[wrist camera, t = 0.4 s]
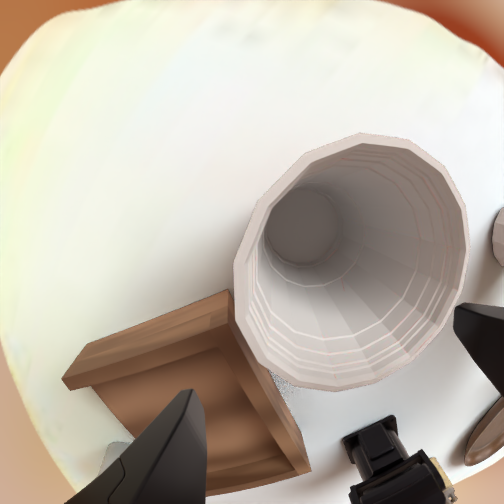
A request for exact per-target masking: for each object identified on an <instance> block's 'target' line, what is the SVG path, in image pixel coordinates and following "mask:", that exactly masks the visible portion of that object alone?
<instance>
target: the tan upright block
mask: <svg viewBox="0 0 504 504" xmlns="http://www.w3.org/2000/svg"><path fill="white" fill-rule="evenodd" d="M430 460H431V462H432V463H433V464H434V466H435V467H436V468H437V470H438V471H439V473H440V475H441V476H442V478H443V481H444V483H445V486H446V490H444V491H443V493H444V495H445V497H446V504H453V503H454V502H455V501H457V499H458V498H457V497H456V496H455V495H454V491H455V490H454V488H453V487H452V486H453V485H452V483H451V482H450V480H449V479H448V477H447V476H446V474H445V472H444V471H443V469H442V468H441V466H440V465H439V463H438V462H437V460H436V458H435V457H433V458H430ZM449 497H451V498H452V500H449V499H448V498H449Z"/></svg>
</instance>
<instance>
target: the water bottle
mask: <svg viewBox="0 0 504 504" xmlns="http://www.w3.org/2000/svg"><path fill="white" fill-rule="evenodd" d="M492 243H493V253H494V256H495V257H496V259H497V260H498V262H499V263H500V265H501V266H503V267H504V207H503V208H502V209H501V210H500V212H499V214H498V216H497V218H496V220H495V222H494V229H493V235H492Z"/></svg>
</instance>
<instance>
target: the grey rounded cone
mask: <svg viewBox="0 0 504 504" xmlns="http://www.w3.org/2000/svg"><path fill="white" fill-rule="evenodd" d="M129 445H130V444H128V443H124V442H113V443H111V444H109V446H108V448H107V451H106V454H105V457H104V459H103V462H102V465H101V468H100V471H99V474H98V476H99V475H100V474H101V473H102V472H103V471H104V470H106V469H107V468H108V467H109V466H110V465H111V464H112V463H113V462H114V461H115V460H116V459H117V458H118V457H119V456H120V455H121V454H122V452H123V451H124V450H125V449H126V448H127V447H128V446H129ZM119 458H120V457H119Z"/></svg>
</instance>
